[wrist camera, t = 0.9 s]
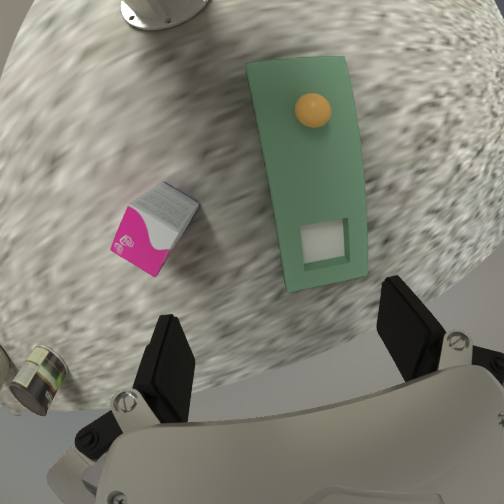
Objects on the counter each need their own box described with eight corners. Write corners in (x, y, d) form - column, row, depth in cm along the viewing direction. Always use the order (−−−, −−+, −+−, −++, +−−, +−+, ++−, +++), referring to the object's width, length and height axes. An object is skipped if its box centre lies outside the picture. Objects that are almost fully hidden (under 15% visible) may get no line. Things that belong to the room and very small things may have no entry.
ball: (288, 97, 27) (295, 92, 23) (321, 94, 27) (332, 89, 23) (295, 130, 29) (302, 129, 25) (327, 126, 28) (339, 125, 25)
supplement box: (162, 180, 33) (129, 201, 22) (201, 202, 34) (183, 233, 24) (143, 216, 35) (108, 251, 24) (180, 238, 36) (157, 280, 26)
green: (245, 68, 27) (245, 63, 25) (337, 60, 27) (344, 56, 25) (284, 283, 40) (287, 292, 37) (361, 267, 39) (367, 275, 37)
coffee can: (69, 359, 46) (44, 405, 34) (67, 380, 50) (47, 421, 37) (34, 336, 44) (5, 377, 31) (35, 359, 47) (12, 397, 34)
